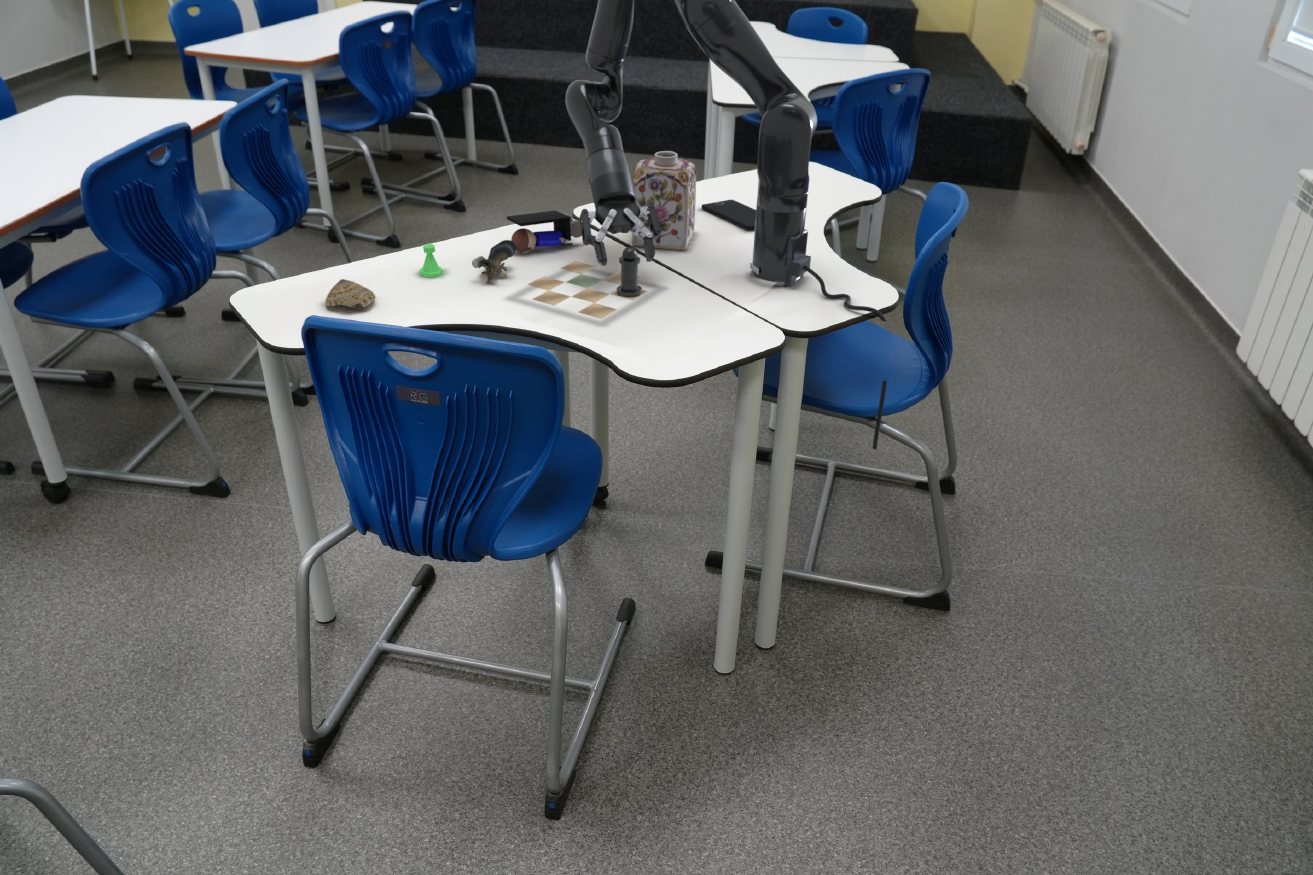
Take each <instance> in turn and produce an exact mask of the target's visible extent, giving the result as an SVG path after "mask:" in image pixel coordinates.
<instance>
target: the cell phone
mask: <svg viewBox="0 0 1313 875" xmlns="http://www.w3.org/2000/svg"><path fill="white" fill-rule="evenodd" d="M701 209H702V210H704V211H707V212H708V213H711V214H713V215H714V216H717V217H719V218H722V219H723V220H725V221H727V222H730V223H731V224H734V225H736V226H738V227H740V228H742V229H744V230H746V231H755V220H756V208H752V207H750V206H748V205H745V204H743V203H741V202H739V201H737V200H734V199H726V200H720V201H715V202H709V203H703V204H701Z"/></svg>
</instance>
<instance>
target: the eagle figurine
mask: <svg viewBox="0 0 1313 875" xmlns="http://www.w3.org/2000/svg"><path fill="white" fill-rule="evenodd" d="M516 248H517V247H516V246H515V243H514V242H512V240H511V239H504V240H502V241H500V242H498V243H496V244H495V245H494V246H491V248H490V251H489V253H488V257H487V258H485V257H484V256H483V255H480V256H477V257H475V258H474V259H472V261H471V265H472V267H473V268H474V269H481V268H482V267H483V268H484V269H485V270H486V271H481V274H482V275H485V276H486V277H487V280H486V283H487V284H488V285H489V283H490V282H491V281H492V280H493V279H494V276H495V274H499V275H501V276H504V277H505V278H506V279H508V275H507V271H505V270H504V269H508V266H505V264H506V263H505V262H504V261H506V260H508V259H509V258H512V257H514V256H515V255H516V252H517V251H516Z"/></svg>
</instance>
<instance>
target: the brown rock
mask: <svg viewBox="0 0 1313 875" xmlns="http://www.w3.org/2000/svg"><path fill="white" fill-rule="evenodd" d="M376 297H377V296H376V294H375V292H373V291H372V290H371V289H369V288H368V287H365V286H363V285H362V284H359V283H357V282H355V281H354V280H349V279H345V278H342V279H340V280H338V281H337V282H336V283H335V284H334V285H333V287H332V288H331V289H330V290H329V292H328V293H327V295H326V297H325V306H326V307H335V306H343V307H347V308H349V309H356V310H357V309H363V308H366V307H368V306H369V305H370V304H371V303H372V302H373V301H375V300H376Z"/></svg>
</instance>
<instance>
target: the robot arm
mask: <svg viewBox="0 0 1313 875" xmlns="http://www.w3.org/2000/svg"><path fill="white" fill-rule="evenodd" d="M673 1H674V4H675V6H676V9H677V12H678V13H679V16H680V18H681V20H682V22H683V24H684V26H685V28H686V30H687V31H688V33H689V34H690V35H691V37H692V38H693V39H694V41H695V42H696V44H697V45H698V46H699V48H700V49H701V50H702V52H703V53H704V54H705V55H706V57H707V58H708V59H709V60H710V61H711V62H712V63H713V64H714V65H715V66H716V67H717V68H718V69H720V70H721V71H722V72H723V73H724V74H726V75H727V76H728V77H729V78H730V79H732V80H733V82H735V83H736V84H738V86H740V88H742V89H743V90H744V92H745V93H746V94H747V95H748V96H749V98H750V99H751V101H752V102H753V104H754V105H755V107H756V108H757V110H758V111H759V113H760V115H761V116H762V118H761V121H760V124H759V131H758V143H757V144H758V147H757V161H756V164H757V166H756V173H757V179H758V181H757V197H756V208H755V210H756V220H755V230H754V233H753V245H752V246H753V248H752V260H751V262H750V263H749V269H750V277H751V278H755V279H760V280H763V281H766V282H772V283H774V284H773V287H788V288H791V287H792V286H794V285H795V284H797V283H798V282H800V281H801V280H802V279H803V278H804V276H805V274H806V273H807V272H808V274H810V275H812V276H813V277H814V278H815V279H816V281H818V283H819V285H820V290H821V293H822V295H823V296H824V297H825V298H827V299H830V300H836V299H837V300H838V299H845V300H844V301H843V305H844V307H845V308H846V309H848V310H851V311H862V312H869V313H873V314H874V315H876V316H877V317H878V318H879V320H880V321H881V322H887V319H886V317H885V316H884V314H883V313H882V312H881V311H880V310H879V309H876V308H875V307H871V306H864V305H853V304H850V302H851V300H852V297H851V296H850V295H849V294H847V293H838V294H837V293H836V294H831V293H829V292H828V291H827V289H826V284H825V281H824V280H823V278H822V277H821V276H820V275H819V274H818V273H817V272H816V271H815V270H813V269H812V268H811V261H812V255H807V247H808V245H807V244H808V236H809V230H808V229H805V228H806V227H805V226H806V216H807V206H808V196H809V189H810V174H809V171H810V170H809V168H810V167H809V166H810V158H811V157H810V156H811V155H810V154H811V146H812V139H813V137H814V135H815V133H816V131H817V128H818V116H817V111H816V109H815V107H814V105H813V104H812V102H811V101H810V100H809V99H808V98H807V96H805V94H804V93H803V92H802V91H801V90H800V89H799V88H798V87H797V86H796V85H795V83H794V82H793V81H792V80H791V79H790V78H789V77H788V76H787V75H786V73H785V72H784V71H783V70H782V68H781V67H780V66H779V65H778V63H777V62H776V60H775V58H774V57H773V56H772V55H771V52H770V50H769V49H768V47H767V46H766V44H765V43H764V41H763V40H762V38H761V36H760V35H759V34H758V32H757V31H756V29H755V28H754V26H753V25H752V23H751V22H750V20H749V18H748V17H747V16H746V14H745V13H744V11H743V10H742V8H740V6H739V5H738V3H737V1H736V0H673ZM634 12H635V0H597V7H596V10H595V15H594V19H593V23H592V27H591V31H590V35H589V39H588V43H587V47H586V52H585V56H584V57H585V59H584V60H585V64H586V65H587V67H589V68H590V69H592V70H594V71H595V72H598V73H600V74H602V75H603V80H602V82H601V81H593V80H587V79H586V80H585V79H576V80H574V81H573V82H571V83H570V84H569V85H568V86H567V89H566V91H565V97H564V99H565V100H564V102H565V108H566V112H567V114H568V117H569V119H570V121H571V124H572V126H573V127H574V128H575V131H576V132H577V135H578V137H579V139H580V140H581V142H582V145H583V148H584V153H585V159H586V165H587V174H588V184H589V185H590V190H591V193H592V199H593V204H594V208H595V210H594V211H593V210H592V211H589V210H588V209H587V208H583V209H582V210H581V213H580V215H579V221H580V225H581V233H582V236H581V239H582V240H581V241H582V244H583V245H584V246H592V247H593V248H594V252H595V257H596V261H597V263H598V264H600V265H601V267H604V266H607V263H608V257H607V256H608V255H607V250H606V246H605V241H604V240H605V238H606V236H607V234H608V233H610V234H611V235H617V234H620V233H621V234H629V233H631V234H632V233H633V234H634V235H635V236H638V237H639V238H640V239H641V240H642V241H643V242H644V243H643V246H644V247H643V251H644V255H645V259H646V260H645V261H646V263H651V262H652V261H653V259H654V258H655V256H656V248H654V243H653V240H654V239H655V240H656V239H658V237H659V235H660V233H661V227H660V224H659V220H658V217H657V213H656V210H655V206H654V205H653V204H649V206H648V207H643V208H639V207H638V205H637V204H636V199H635V194H634V190H633V185H632V182H633V180H632V176H631V172H630V167H629V164H628V160H627V158H626V155H625V151H624V147H623V140H622V136H621V133H620V131H619V129H618V128H617V126H616V125H615V126H614V125H613V124H611V123H612V122H614V121H616V119H618V117H619V116H620V114H621V112H622V109H623V100H624V98H623V78H624V74H623V73H624V64H625V59H626V56H627V51H628V48H629V44H630V41H631V36H632V31H633V25H634ZM639 215H642V216H643V217H644V219H645V220H647V221H648V224H649V228H650V231H649V230H648V229H647V228H646V227H645V225H644V223H643V222H642V221H641V220H640V219H639V218H638V217H639ZM593 220H595V221H596V222H597V223H598V224H599V225H600V226H601V227H600V228H599V230H598V233H597V234H596V235H593V234H592V228H591V224H592V222H593ZM887 384H888V381H887V380H882V382H881V392H880V399H879V404H878V408H877V416H876V422H875V428H874V435H873V441H872V449H873V450H877V449H878V442H879V436H880V435H879V434H880V428H881V423H882V416H883V410H884V405H885V399H886V391H887Z"/></svg>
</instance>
